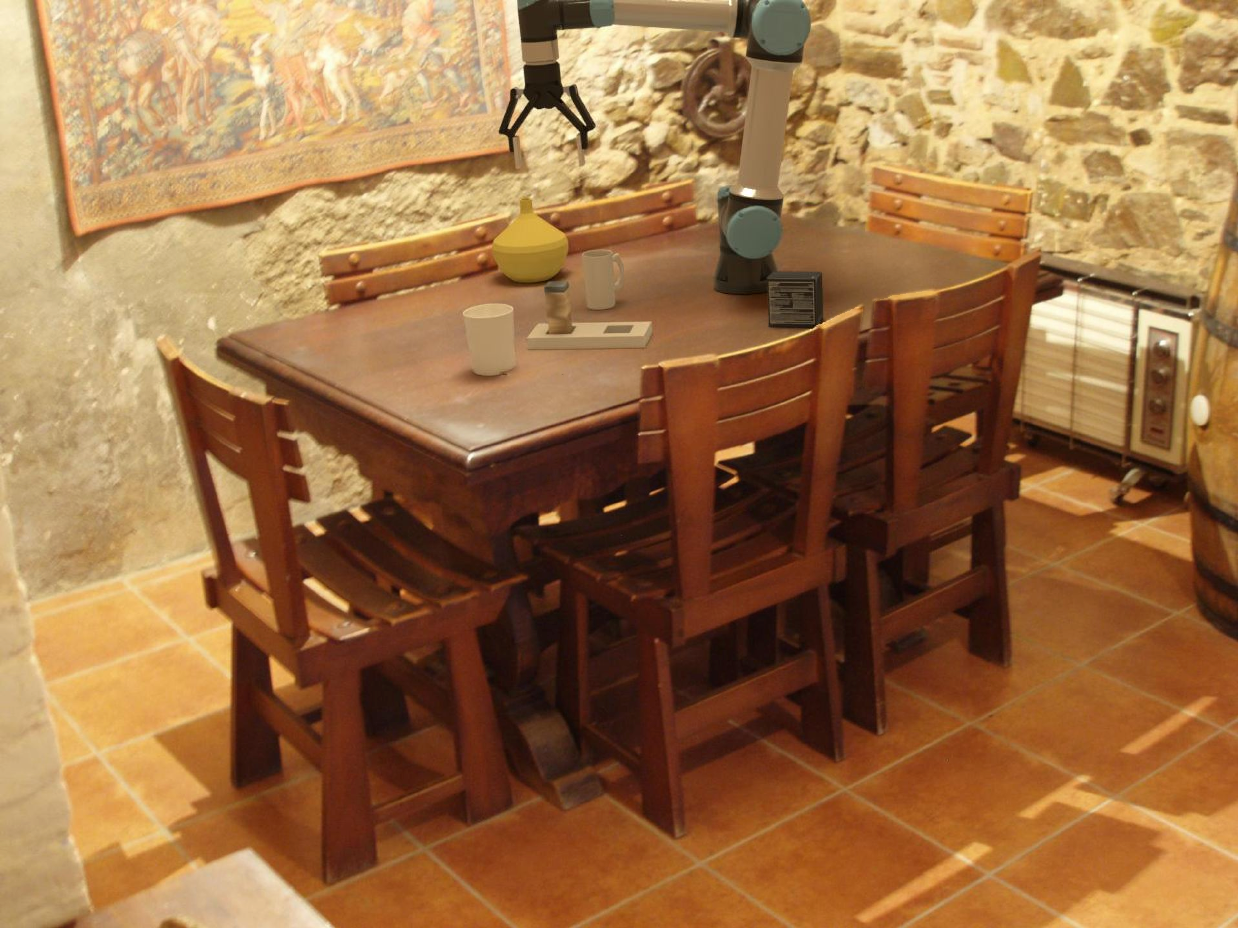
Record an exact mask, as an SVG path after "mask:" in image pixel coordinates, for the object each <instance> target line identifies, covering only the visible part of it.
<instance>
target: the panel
mask: <svg viewBox="0 0 1238 928" xmlns="http://www.w3.org/2000/svg"><path fill="white" fill-rule="evenodd" d="M652 323H653V321H611V322H610V321H609V322H607V321H606V322H603V321H602V322H599V321H598V322H572V334H549V329H548V322H547V323H537V325H536V326H535V327H534V328H533V329H532V331H531V332H530V334H528V336H527V337H526V344H527V345H526V346H527V350H530V351H531V350H532V351H533V350H579V349H580V350H581V349H582V350H585V349H586V350H588V349H591V350H593V349H595V350H596V349H597V350H599V349H645V348H646V346H647V344H648V342H649V340H650V339H651V337H652V335H653V325H652Z"/></svg>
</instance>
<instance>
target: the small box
mask: <svg viewBox="0 0 1238 928" xmlns="http://www.w3.org/2000/svg"><path fill="white" fill-rule="evenodd" d="M823 289H824V287H823V271H799V270H798V271H797V270H796V271H791V270H790V271H787V270H786V271H781V270H779V271H773V272H772V273H771V274H770V275H769V276H768V277H767V291H766V292H767V313H768V314H767V315H768V316H767V317H768V319H767V320H768V322H767V325H768V326H767V327H769V328H800V327H801V328H800V329H802V328H804V329H805V328H806V329H807V328H809V329H810V328H811V329H813V328H812V327H815V326H816V325H818V324H820V323H822V322H823V321H824V298H823V295H824V294H823V293H824V292H823ZM820 325H821V324H820Z"/></svg>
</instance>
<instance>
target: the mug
mask: <svg viewBox="0 0 1238 928" xmlns="http://www.w3.org/2000/svg"><path fill="white" fill-rule="evenodd" d="M613 253H614V252H613V250H610V249H593V250H592V249H591V250H587V251H584V252H583V253H581V260H582V269H583V279H584V289H585V298H586V306H587V308H588V309H589V310H594V311H595V310H596V311H598V310H600V311H601V310H609V309H611V308H614V307H615V306H616V291H618V290H621V288H622V286H623V285H622V284H623V280H624V276H625V275H624V274H625V269H624V268H625V267H624V263H623V261H622V259H621V257H620V254H619V253H617V252H616V253H614V254H613ZM614 262H616V264H617V266H618V277H617V279H616V281H615V271H614Z"/></svg>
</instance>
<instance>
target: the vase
mask: <svg viewBox="0 0 1238 928" xmlns="http://www.w3.org/2000/svg"><path fill="white" fill-rule="evenodd" d="M533 206H534V205H533V199H532V197H523V198H520V199H519V208H520V209H519V214H518V216H517V217H516V218H515V219H514V220H513V221H512V222H511V223H510V224H509V225H508V226H507V227H506V228H505V229H504V230H502V232H501V233H499V235H497V237H495V238H494V239H493V242H492V244H491V250H492V256H493V259H494V260H495V263H496V264H497V266H498V268H499V269H500V272H502V273H503V274H504V275H505V276H506V277H507V278H508V279H510V280H511V281H514V282H516V283H523V284H533V283H540V282H545V281H548V280H550V279H552V278H554V277H555V276H556V275H557V274H558V273H560V271H561V269H562V268H563V266H564V265H565V262H566V259H567V255H568V253H569V240H568V238H567V235H566V233H564V231H563V232H562V231H561V230H559V228H556V227H555V226H553V225H552V224H551V223H549V222H547V221H546V220H545V219H543V218H542V217H540V216H538V215H537V213H536V212H535V211H534V207H533Z"/></svg>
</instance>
